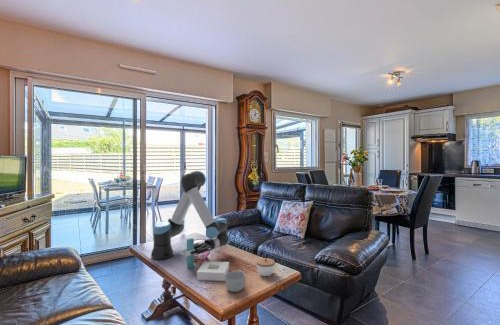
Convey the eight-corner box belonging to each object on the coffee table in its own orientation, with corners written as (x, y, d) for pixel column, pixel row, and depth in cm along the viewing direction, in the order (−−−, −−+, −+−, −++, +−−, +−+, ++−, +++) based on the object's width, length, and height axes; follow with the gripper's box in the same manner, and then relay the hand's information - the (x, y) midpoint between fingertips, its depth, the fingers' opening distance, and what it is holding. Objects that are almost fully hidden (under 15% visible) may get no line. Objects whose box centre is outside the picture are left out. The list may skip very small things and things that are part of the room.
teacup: (237, 296, 136) (237, 280, 136) (220, 291, 142) (220, 275, 142) (252, 285, 148) (252, 270, 148) (235, 280, 154) (235, 266, 154)
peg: (188, 266, 175) (187, 238, 175) (195, 266, 175) (194, 238, 174) (185, 268, 171) (185, 240, 170) (192, 269, 170) (192, 240, 170)
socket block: (204, 268, 171) (203, 261, 171) (229, 269, 169) (229, 262, 169) (196, 279, 155) (196, 272, 155) (224, 280, 154) (224, 272, 153)
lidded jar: (276, 277, 157) (276, 261, 157) (258, 279, 155) (258, 262, 155) (272, 270, 168) (272, 254, 168) (255, 271, 166) (255, 256, 166)
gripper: (220, 252, 181) (192, 262, 163) (203, 246, 192) (175, 256, 174) (220, 240, 181) (192, 250, 163) (203, 236, 192) (174, 244, 174)
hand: (183, 253), depth 168 cm, fingers closed on peg, 4 cm apart
